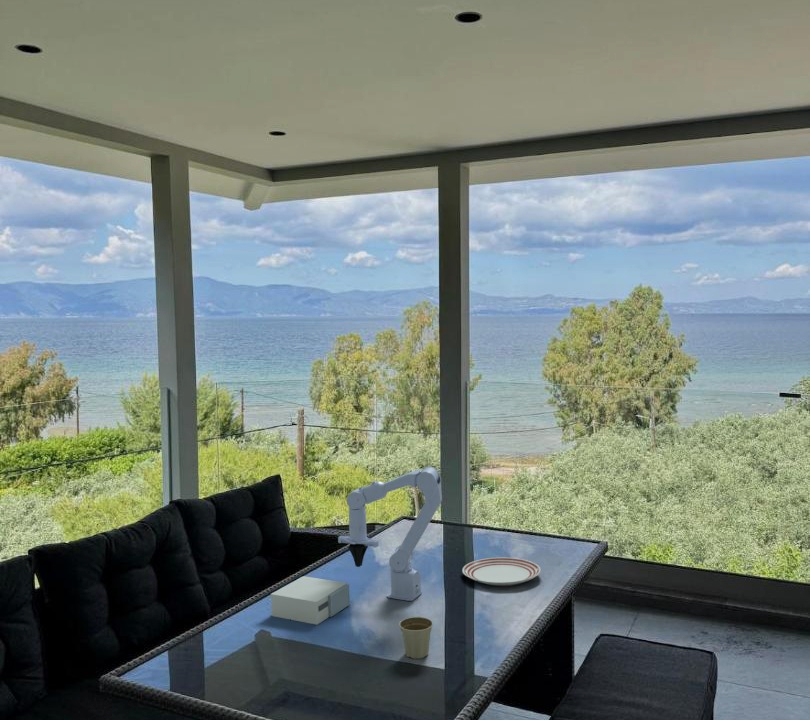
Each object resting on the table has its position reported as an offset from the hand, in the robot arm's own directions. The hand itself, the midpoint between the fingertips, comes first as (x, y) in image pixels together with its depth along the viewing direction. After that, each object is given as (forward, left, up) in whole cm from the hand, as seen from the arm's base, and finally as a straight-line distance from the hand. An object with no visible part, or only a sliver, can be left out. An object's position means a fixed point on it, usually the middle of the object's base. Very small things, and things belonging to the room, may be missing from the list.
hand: (358, 565), depth 259 cm
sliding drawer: (+4, +16, -9) cm, 19 cm away
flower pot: (-38, +34, -10) cm, 52 cm away
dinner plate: (-38, -34, -10) cm, 52 cm away
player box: (+7, +19, -9) cm, 22 cm away
